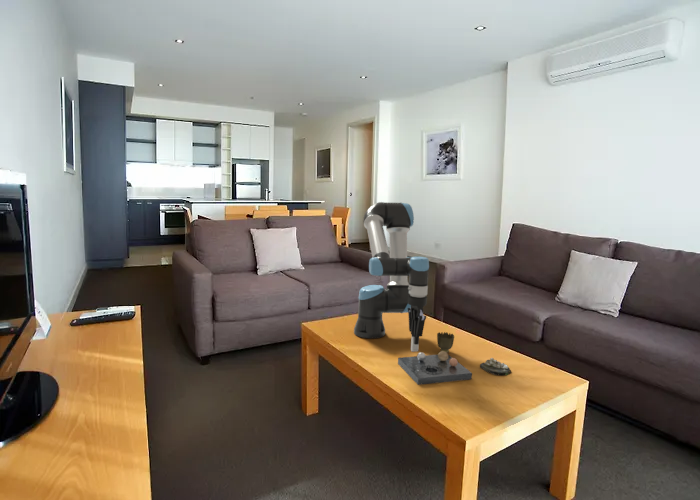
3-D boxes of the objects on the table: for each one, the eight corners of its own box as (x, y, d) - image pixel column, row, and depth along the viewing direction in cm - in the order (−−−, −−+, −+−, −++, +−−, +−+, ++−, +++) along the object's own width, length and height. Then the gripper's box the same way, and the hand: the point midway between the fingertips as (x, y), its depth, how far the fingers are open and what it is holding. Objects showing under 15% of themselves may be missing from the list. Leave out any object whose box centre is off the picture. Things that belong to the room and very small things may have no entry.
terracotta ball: (447, 364, 165) (447, 357, 165) (454, 364, 166) (455, 356, 165) (451, 368, 162) (452, 360, 162) (458, 367, 163) (459, 359, 162)
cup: (453, 356, 180) (454, 338, 179) (435, 354, 182) (437, 336, 181) (452, 349, 188) (454, 332, 186) (436, 348, 189) (437, 331, 188)
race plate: (397, 363, 171) (398, 357, 170) (446, 359, 177) (447, 353, 176) (417, 384, 153) (418, 378, 152) (471, 379, 159) (472, 373, 158)
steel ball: (415, 359, 169) (415, 351, 169) (423, 358, 170) (423, 350, 170) (419, 362, 166) (419, 354, 166) (426, 362, 167) (427, 353, 167)
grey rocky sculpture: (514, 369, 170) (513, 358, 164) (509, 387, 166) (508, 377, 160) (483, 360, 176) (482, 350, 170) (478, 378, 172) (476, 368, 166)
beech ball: (435, 359, 170) (436, 349, 170) (444, 358, 171) (445, 349, 171) (440, 363, 166) (441, 353, 166) (449, 362, 167) (450, 352, 167)
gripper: (402, 291, 176) (400, 345, 179) (415, 299, 164) (412, 357, 167) (419, 291, 178) (416, 344, 181) (433, 298, 166) (429, 356, 169)
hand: (414, 350), depth 174 cm, fingers closed
